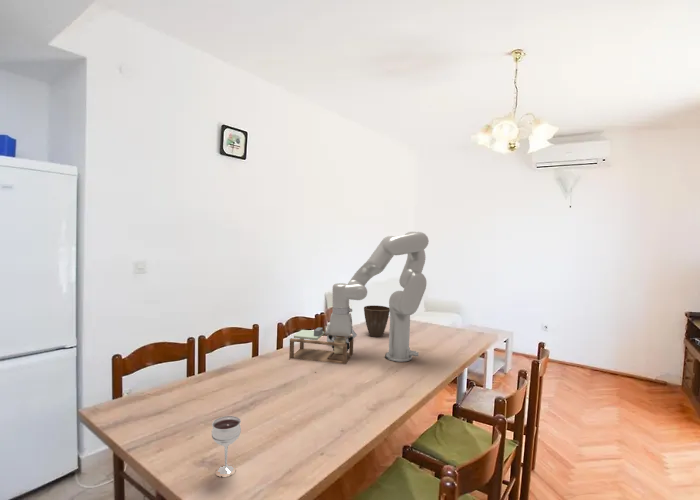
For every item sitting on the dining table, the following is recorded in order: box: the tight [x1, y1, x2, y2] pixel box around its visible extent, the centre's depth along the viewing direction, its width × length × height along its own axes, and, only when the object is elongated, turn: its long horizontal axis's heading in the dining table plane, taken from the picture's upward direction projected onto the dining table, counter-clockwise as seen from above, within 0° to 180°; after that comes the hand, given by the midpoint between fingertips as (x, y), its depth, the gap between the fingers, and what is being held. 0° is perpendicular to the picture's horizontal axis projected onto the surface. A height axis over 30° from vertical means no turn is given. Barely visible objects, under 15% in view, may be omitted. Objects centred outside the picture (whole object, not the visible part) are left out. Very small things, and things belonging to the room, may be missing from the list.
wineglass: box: [211, 415, 242, 474], centre depth 91 cm, size 7×7×12 cm
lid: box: [293, 327, 325, 341], centre depth 175 cm, size 11×11×4 cm
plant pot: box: [363, 305, 390, 338], centre depth 216 cm, size 15×15×16 cm
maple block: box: [334, 337, 346, 354], centre depth 172 cm, size 5×5×6 cm
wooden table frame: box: [288, 332, 354, 365], centre depth 174 cm, size 26×15×10 cm, turn 78°
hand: (340, 349), depth 172 cm, fingers closed on maple block, 5 cm apart
